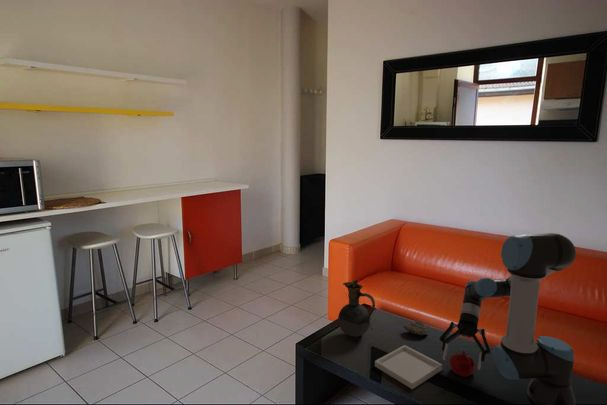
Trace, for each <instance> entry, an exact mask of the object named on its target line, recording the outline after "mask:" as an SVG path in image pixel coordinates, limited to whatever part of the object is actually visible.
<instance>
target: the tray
mask: <svg viewBox="0 0 607 405" xmlns="http://www.w3.org/2000/svg"><path fill="white" fill-rule="evenodd" d="M374 367H375V368H377V369H378V370H380V371H382V372H384V373H385V374H387V375H388V376H389V377H391V378H394V379H395V380H396V381H398V382H400V383H401V384H403V385H405V386H406V387H408V388H409V389H411V390H413V389H415V388H417V387H418V386H420V385H421V384H423V383H424V382H426V381H427V380H429V379H431V378H432V377H434V376H435V375H436V374H438V373H440V372H442V371H443V364H442V363H440V362H438V361H436V360H435V359H432V358H431V357H429V356H427V355H425V354H423V353H421V352H420V351H417V350H415V349H414V348H411V347H410V346H407V345H405V344H404V345H402V346H400V347H398V348H396V349H395V350H393V351H390V352H389V353H387V354H385V355H383V356H381V357H379V358H377V359H375V361H374Z"/></svg>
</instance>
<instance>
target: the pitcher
mask: <svg viewBox="0 0 607 405" xmlns="http://www.w3.org/2000/svg"><path fill="white" fill-rule="evenodd" d="M359 282H360V280H359V279H356V280H352V281H350V282H349V281H348V282H343V283H342V285H344V286H345V287H346V288H347V290H348V296H347V297H348V304H345V305H344V306H342V308H341V309H340V310H339V313H338V316H337V317H338V318H337V322H338V325H339V326H338V327H340V329H341V331H342V332H343V333H344V334H346V338H347V339H348V340H352V341H360V340H362V339H363V335H365V333H366V332H367V331H368V330H369V328H370V329H371V330H372V331H374V328H373V326H372V325H371V316H372V314H373V312H374V309H375V307H376V301H375V298H374V296H372V295H371V294H369V293H367V292H364V293H362V292H361V289H363V287H364V285H362V284H359ZM361 297H366V298H368V299H370V301H371V306H372V307H371V311H370V313H369V310H368V309H367V308H366V307H365V306H364V305H362V304H360V298H361Z"/></svg>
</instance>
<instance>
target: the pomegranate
mask: <svg viewBox="0 0 607 405" xmlns="http://www.w3.org/2000/svg"><path fill="white" fill-rule="evenodd" d="M458 352H459V354H458V353H457V352H455V353H454V354H452V355H451V356H450V359H449V361H448V362H449V363H448V364H449V367H450V370H451V371H452V372H453V373H454V374H456V375H458V376H460V377H463V378H466V377H470V376H472V375H473V374H474V372H475V369H476V366H475V363H474V359H473V358H472V357H471V356H469V353H466V352H465V351H463V350H462V351H459V350H458Z"/></svg>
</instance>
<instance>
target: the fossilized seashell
mask: <svg viewBox="0 0 607 405" xmlns="http://www.w3.org/2000/svg"><path fill="white" fill-rule="evenodd" d="M403 328H404V329H405V330H406V331H408V332H409V333H411V334H413V335H418V336H427V335H429V331H428V329H427V326H426V325H425V324H424V323H423V322H422V321H414V322H409V323H405V324H404V325H403Z"/></svg>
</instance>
